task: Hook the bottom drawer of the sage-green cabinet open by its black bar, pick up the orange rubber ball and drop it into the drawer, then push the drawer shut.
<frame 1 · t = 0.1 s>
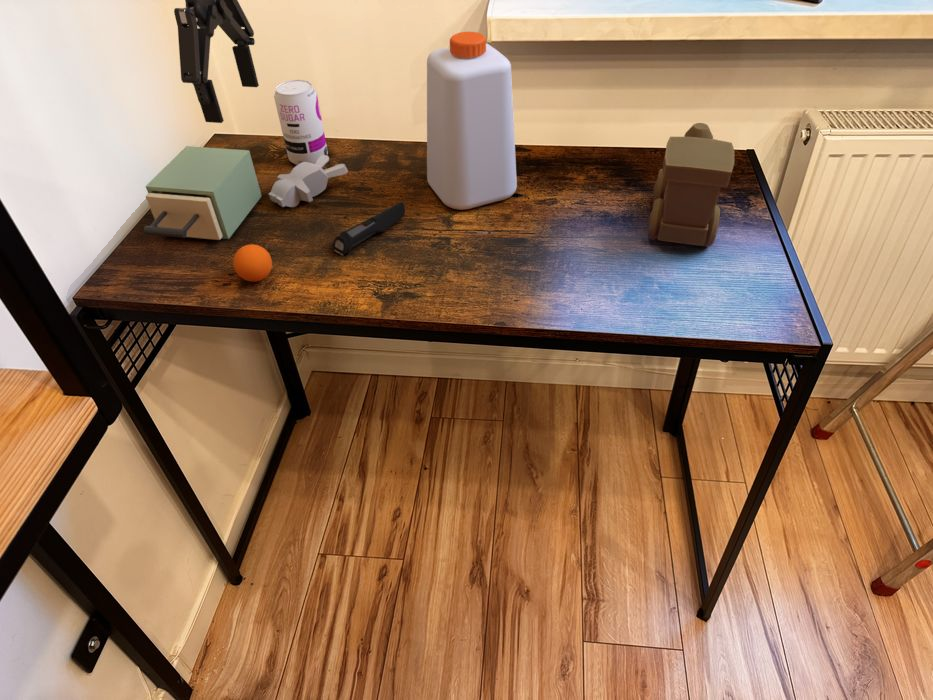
hand: (233, 103, 110), 21 cm above the table, tool pointing down, fingers open, 13 cm apart
ball: (252, 263, 109), point 3 cm above the table
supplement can: (308, 158, 140), on the table
plastic bottle: (471, 189, 129), on the table
electric trimmer: (370, 235, 119), on the table
drawer: (193, 207, 118), point 5 cm above the table, slide at 0.5 cm
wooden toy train: (680, 225, 118), on the table
bunny figurine: (309, 193, 130), on the table
cabinet: (214, 214, 125), on the table
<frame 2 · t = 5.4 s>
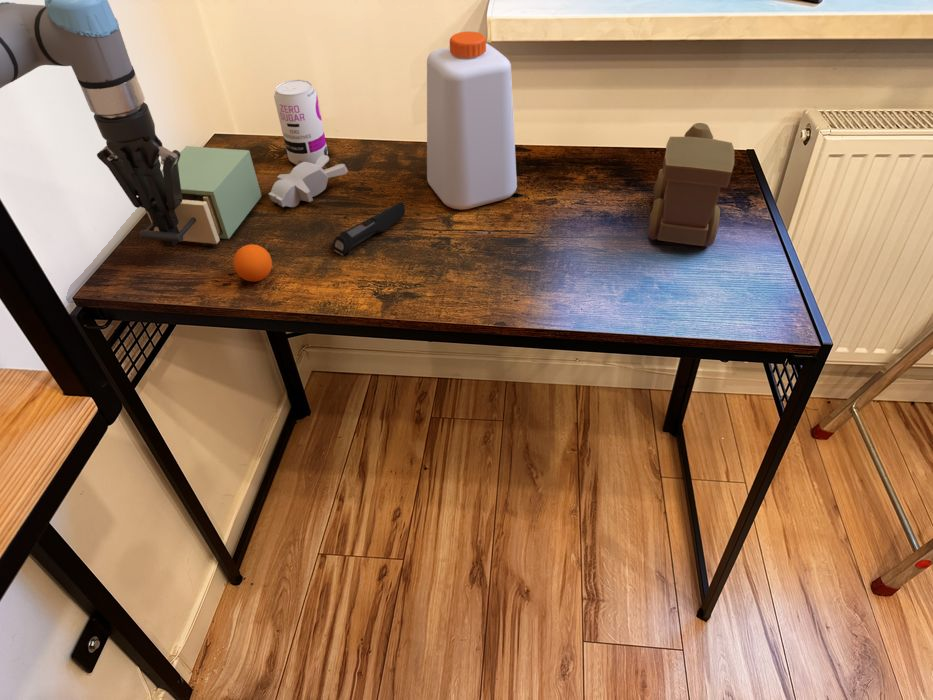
hand: (173, 241, 114), 3 cm above the table, tool pointing down, fingers closed
drawer: (190, 210, 117), point 5 cm above the table, slide at 1.7 cm
everything else where it was.
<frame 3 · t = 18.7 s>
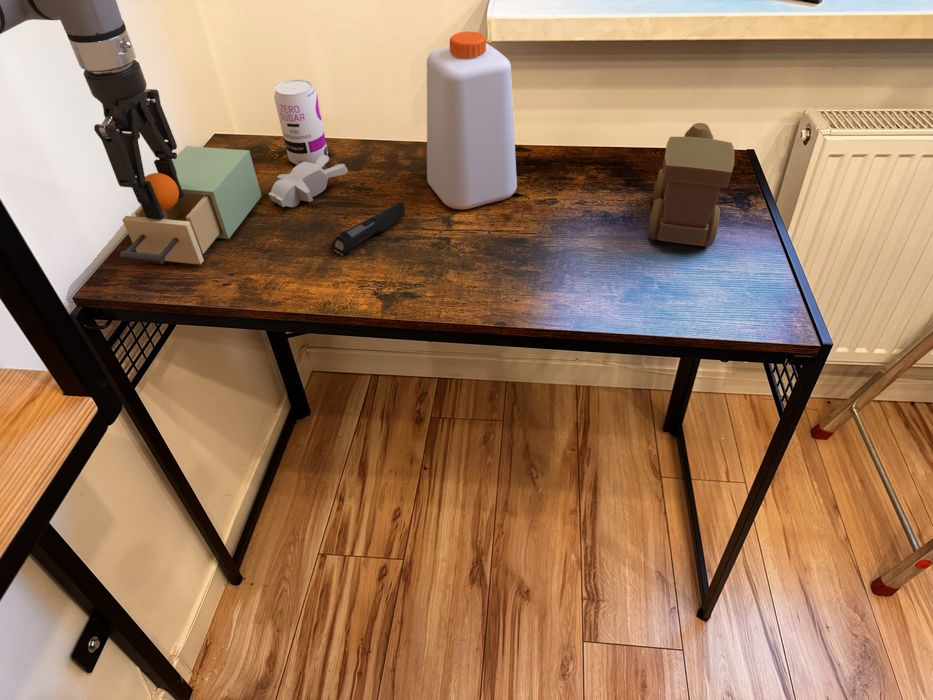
hand: (165, 206, 110), 9 cm above the table, tool pointing down, fingers closed on ball, 6 cm apart
ball: (158, 192, 109), point 12 cm above the table, touching gripper
drawer: (172, 230, 113), point 5 cm above the table, slide at 7.7 cm
everything else where it was.
when the fingers open (9 cm above the table, at t = 26.0 s): ball drops 2 cm, point 10 cm above the table.
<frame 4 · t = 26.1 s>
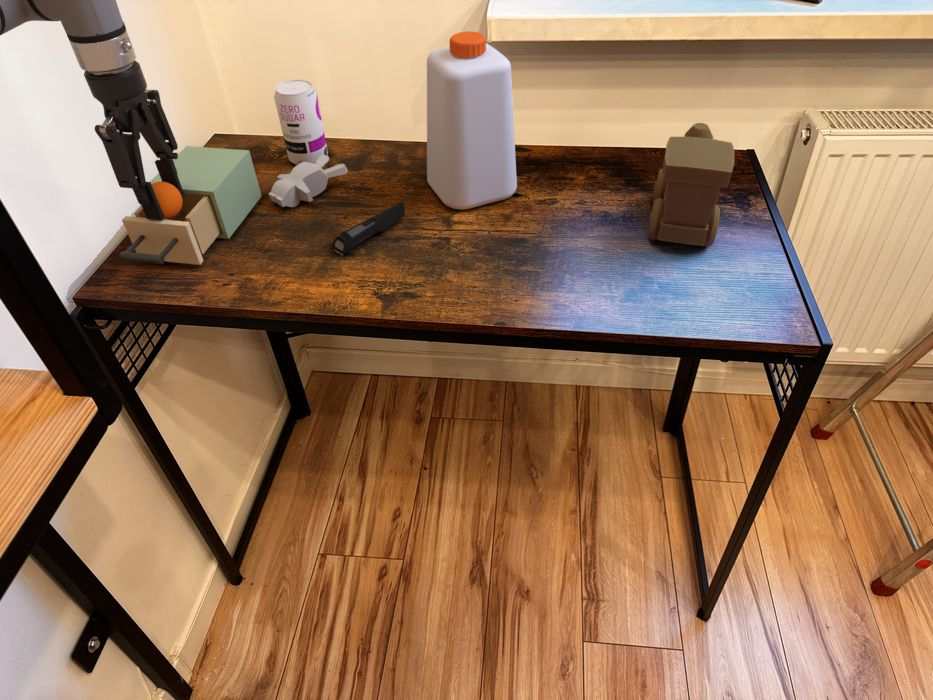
hand: (166, 207, 110), 9 cm above the table, tool pointing down, fingers open, 6 cm apart
ball: (162, 200, 110), point 10 cm above the table
drawer: (172, 230, 113), point 5 cm above the table, slide at 7.8 cm, touching gripper
everything else where it was.
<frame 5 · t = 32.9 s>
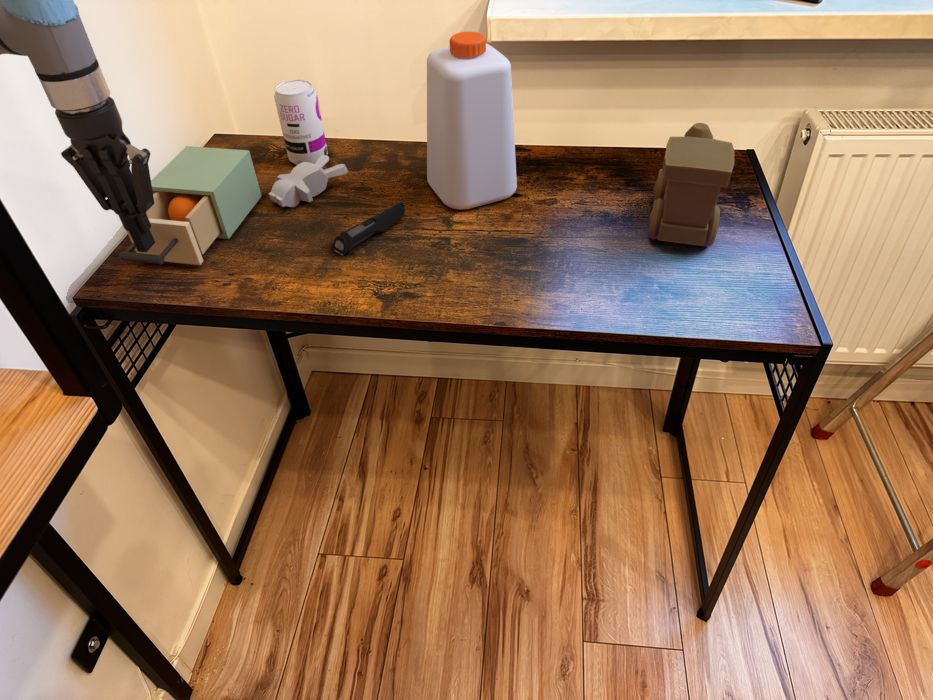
hand: (146, 246, 107), 7 cm above the table, tool pointing down, fingers closed
ball: (187, 211, 117), point 5 cm above the table, tilted 91°, touching drawer
drawer: (172, 230, 113), point 5 cm above the table, slide at 7.8 cm, touching ball, gripper
everything else where it was.
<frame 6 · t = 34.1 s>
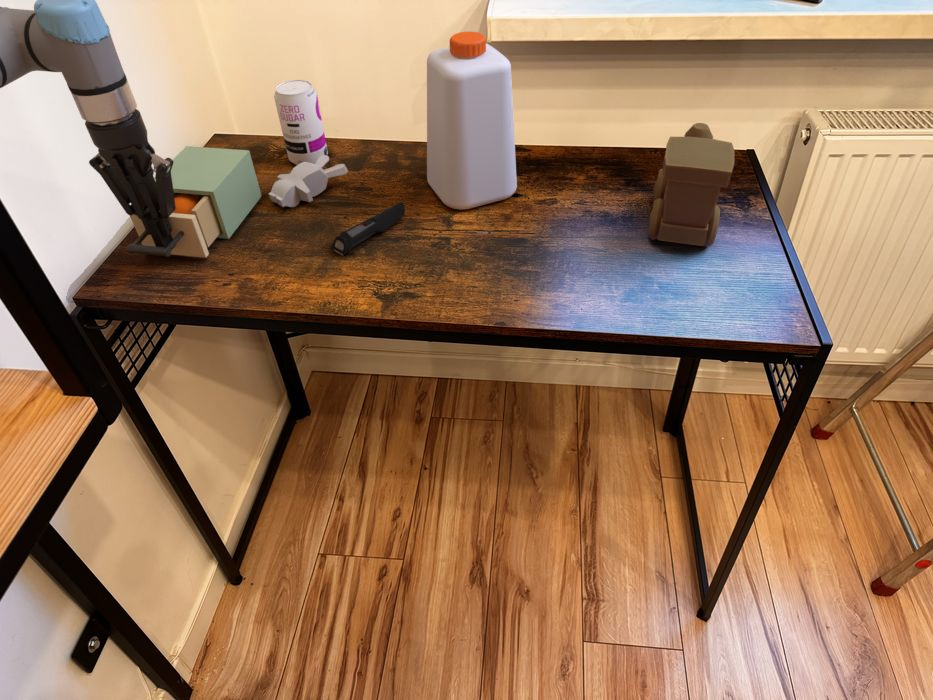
hand: (167, 249, 112), 3 cm above the table, tool pointing down, fingers closed
ball: (187, 211, 117), point 5 cm above the table, tilted 54°, touching drawer
drawer: (178, 223, 114), point 5 cm above the table, slide at 5.8 cm, touching ball, gripper
everything else where it was.
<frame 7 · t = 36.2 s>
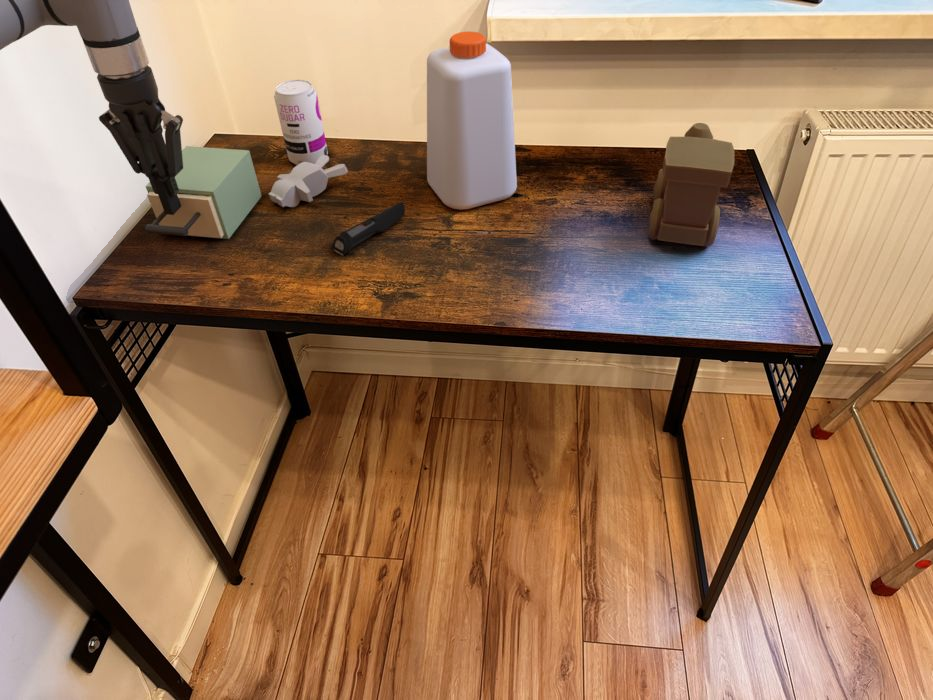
hand: (173, 210, 113), 7 cm above the table, tool pointing down, fingers closed
ball: (207, 188, 122), point 5 cm above the table, tilted 89°, touching drawer
drawer: (194, 205, 118), point 5 cm above the table, slide at 0.0 cm, touching ball, cabinet
everything else where it was.
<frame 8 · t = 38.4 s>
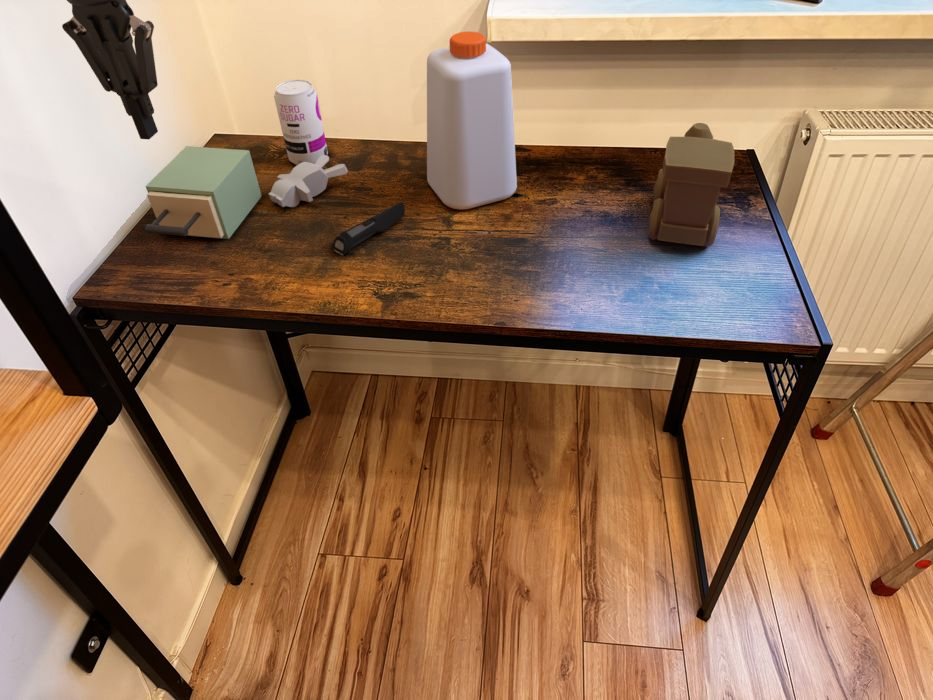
hand: (149, 135, 104), 20 cm above the table, tool pointing down, fingers closed
ball: (200, 196, 120), point 5 cm above the table, tilted 35°, touching drawer
everything else where it was.
at the end: drawer pulled out 7.8 cm at the most during the clip, back to where it started at the end; ball inside the target area in the cabinet (2.5 cm from its centre), point 5.0 cm above the cabinet's base; drawer slide at 0.0 cm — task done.
